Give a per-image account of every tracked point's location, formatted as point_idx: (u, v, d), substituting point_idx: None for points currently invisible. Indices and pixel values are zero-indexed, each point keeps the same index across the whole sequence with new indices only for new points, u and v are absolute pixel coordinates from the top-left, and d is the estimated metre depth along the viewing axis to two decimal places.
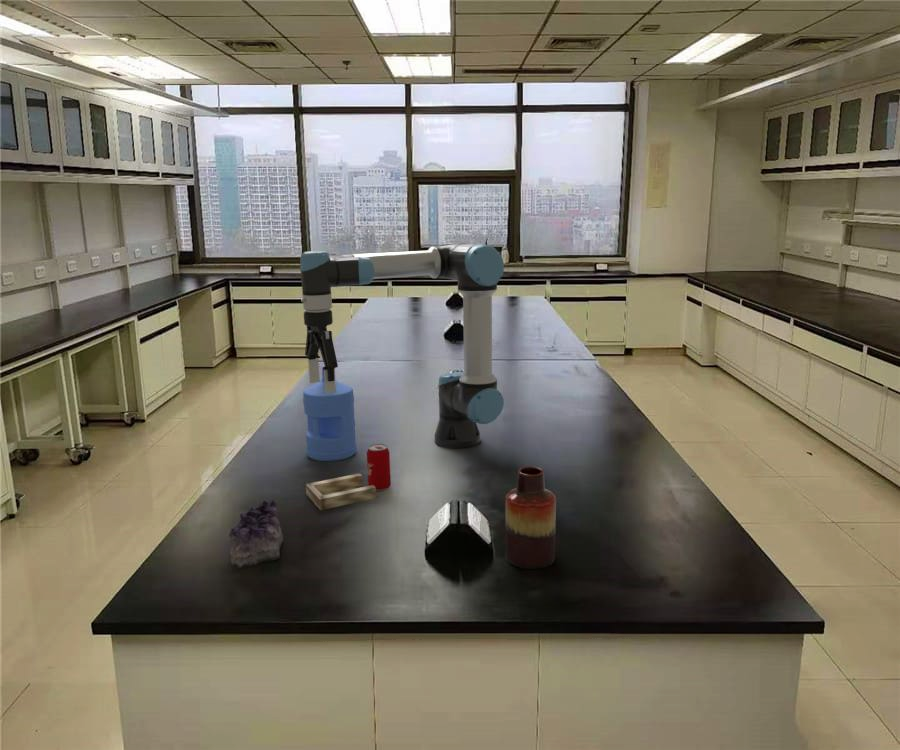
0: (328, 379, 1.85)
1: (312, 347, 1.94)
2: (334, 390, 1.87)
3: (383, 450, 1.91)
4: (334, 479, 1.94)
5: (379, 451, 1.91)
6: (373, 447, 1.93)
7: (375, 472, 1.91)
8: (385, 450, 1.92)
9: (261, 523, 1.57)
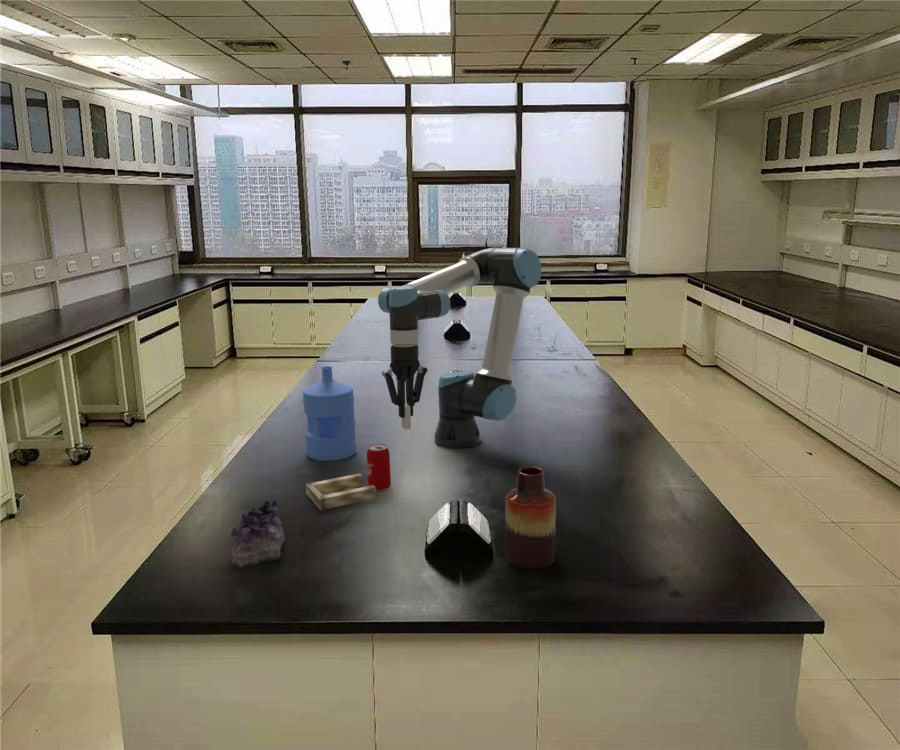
0: None
1: (406, 385, 1.94)
2: (405, 427, 1.95)
3: (383, 450, 1.91)
4: (334, 479, 1.94)
5: (379, 451, 1.91)
6: (373, 447, 1.93)
7: (375, 472, 1.91)
8: (385, 450, 1.92)
9: (262, 523, 1.57)
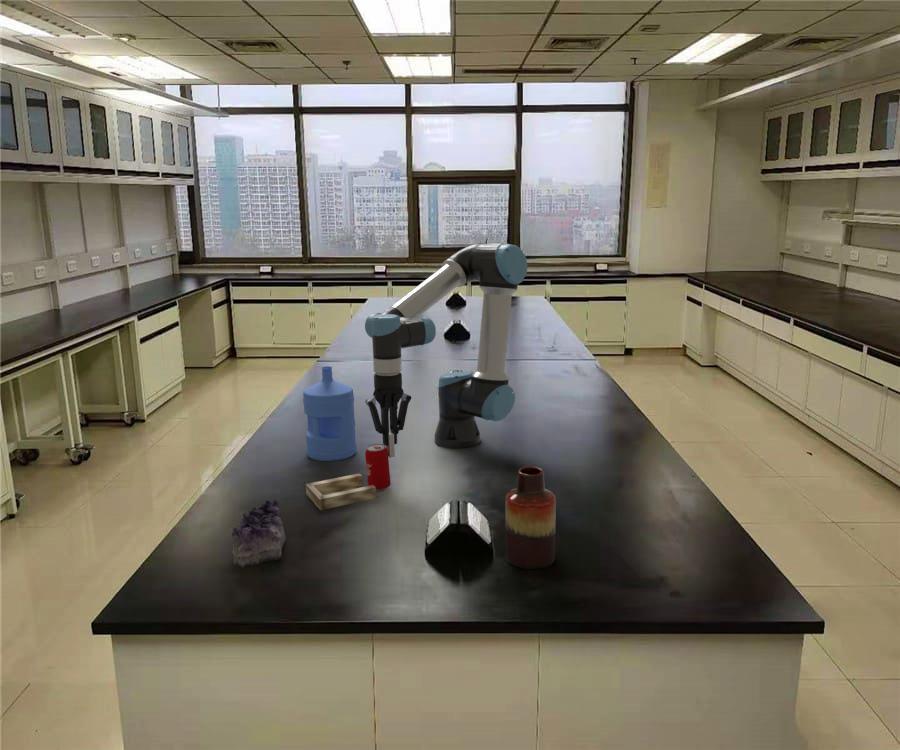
0: None
1: (390, 413, 1.93)
2: (389, 455, 1.94)
3: (381, 450, 1.91)
4: (334, 479, 1.94)
5: (377, 451, 1.90)
6: (371, 447, 1.93)
7: (374, 472, 1.91)
8: (383, 450, 1.91)
9: (263, 523, 1.58)
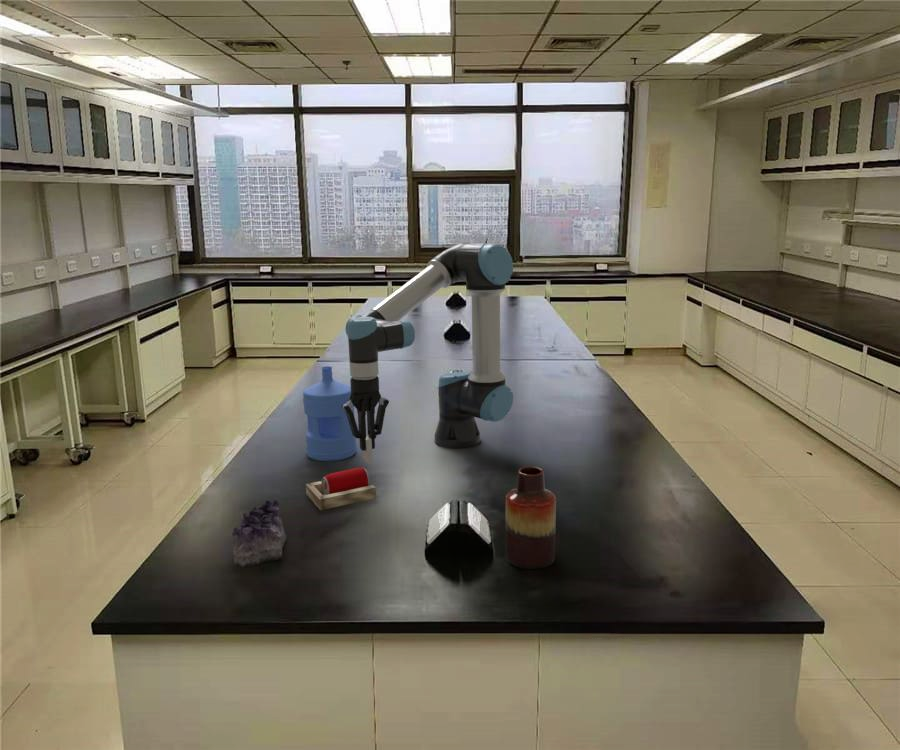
0: None
1: (367, 417, 1.91)
2: (366, 460, 1.91)
3: (328, 482, 1.86)
4: None
5: (329, 486, 1.86)
6: (325, 490, 1.89)
7: (350, 487, 1.89)
8: (328, 479, 1.87)
9: (264, 522, 1.58)
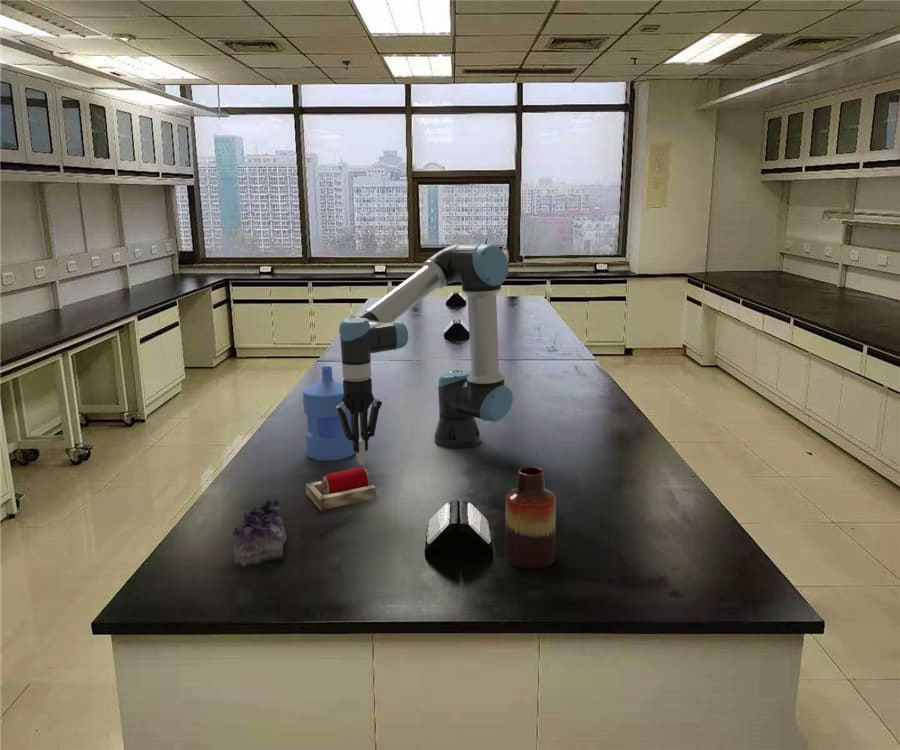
0: None
1: (360, 419, 1.90)
2: (359, 462, 1.90)
3: (328, 482, 1.86)
4: None
5: (329, 486, 1.86)
6: (325, 490, 1.89)
7: (350, 486, 1.89)
8: (327, 479, 1.87)
9: (264, 522, 1.58)
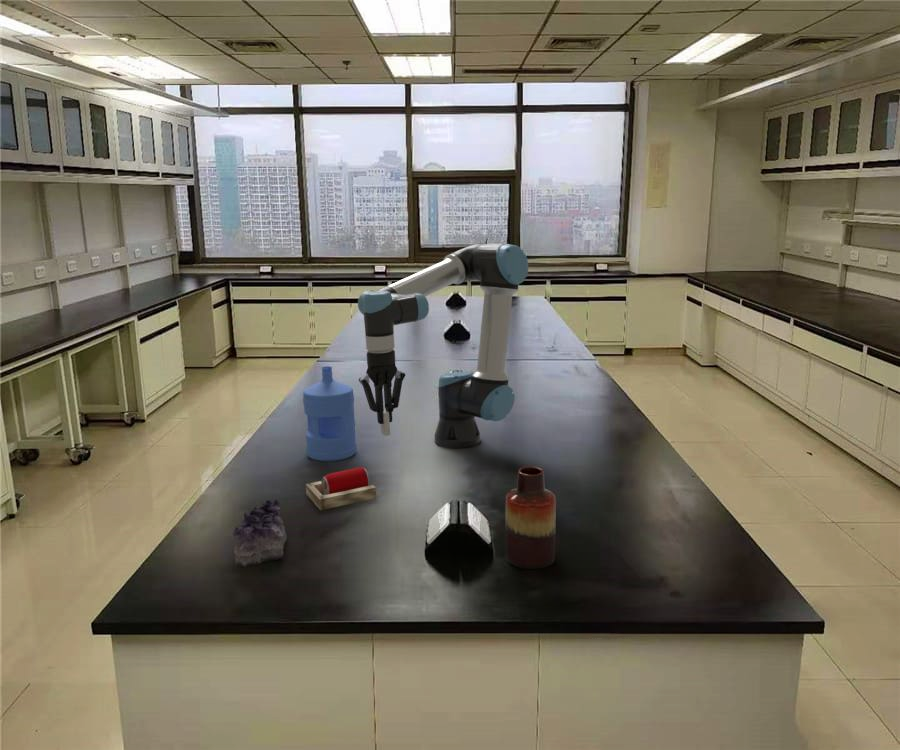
0: None
1: (384, 391, 1.92)
2: (384, 433, 1.92)
3: (328, 482, 1.86)
4: None
5: (329, 486, 1.86)
6: (325, 490, 1.89)
7: (350, 486, 1.89)
8: (327, 479, 1.87)
9: (265, 522, 1.58)
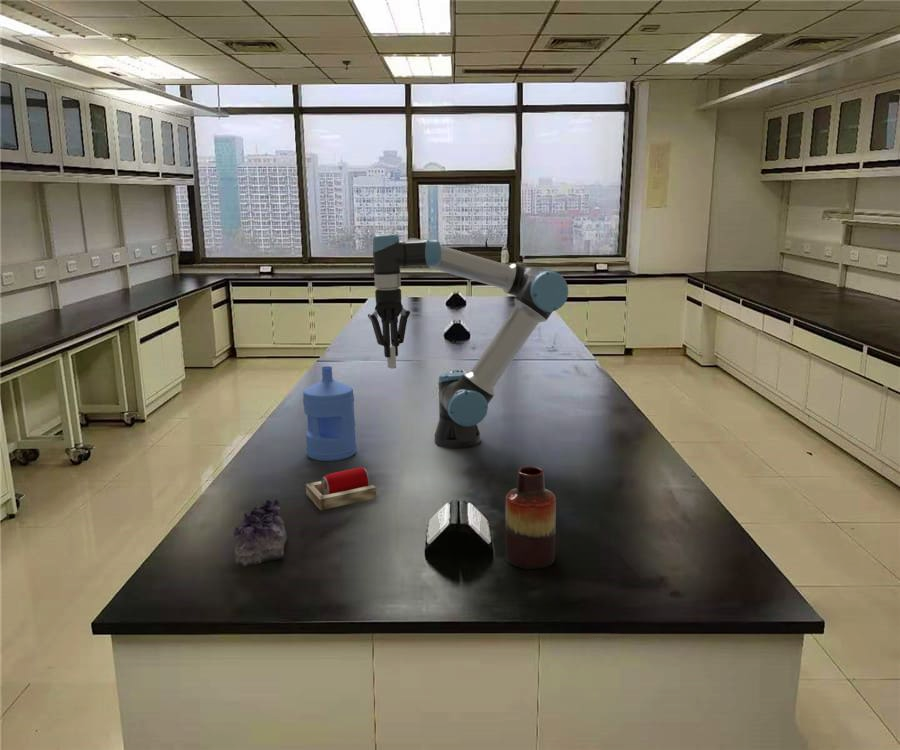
0: None
1: (390, 327, 2.09)
2: (390, 366, 2.09)
3: (328, 482, 1.86)
4: None
5: (329, 486, 1.86)
6: (325, 490, 1.89)
7: (350, 486, 1.89)
8: (327, 479, 1.87)
9: (265, 522, 1.58)
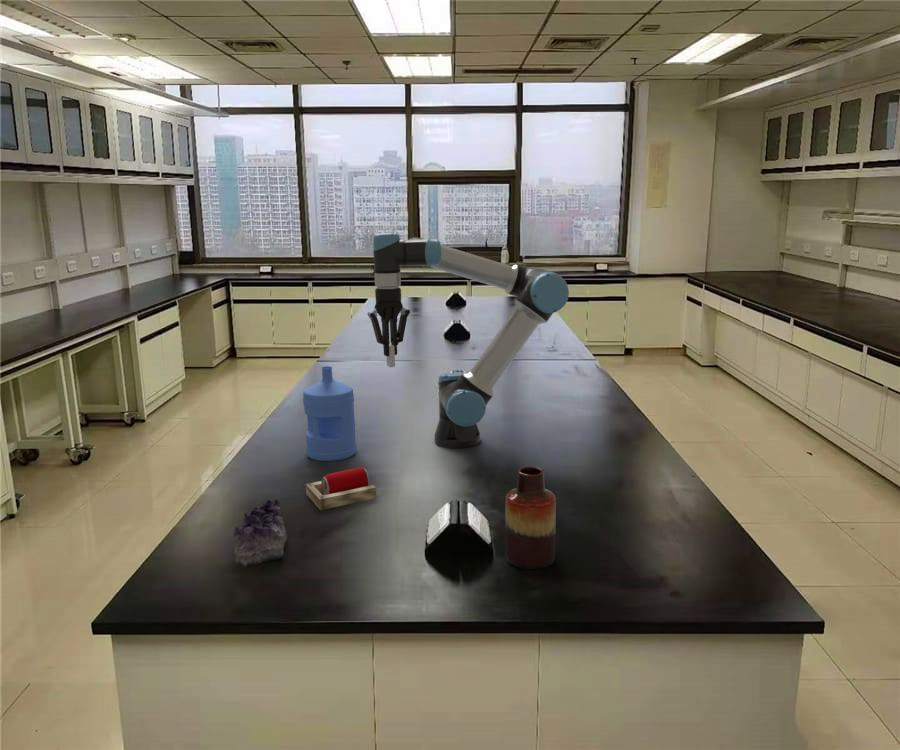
0: None
1: (390, 326, 2.09)
2: (389, 365, 2.10)
3: (328, 482, 1.86)
4: None
5: (329, 486, 1.86)
6: (325, 490, 1.89)
7: (350, 486, 1.89)
8: (327, 479, 1.87)
9: (265, 522, 1.58)
